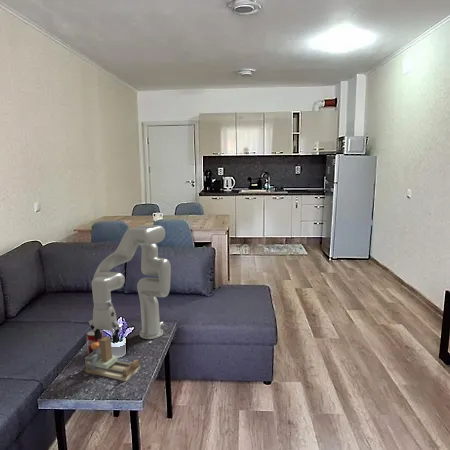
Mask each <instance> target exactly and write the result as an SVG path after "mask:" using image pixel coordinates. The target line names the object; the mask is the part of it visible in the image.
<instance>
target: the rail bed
mask: <svg viewBox="0 0 450 450" xmlns="http://www.w3.org/2000/svg"><path fill="white" fill-rule="evenodd" d="M100 359H101V352H100V347H99V348H98V354H93V352H92V353H90V354H89V355H88V354H87V355H86V356H84V364H85V369H84V371H85V373H86V374H91V375H97V376H101V377H106V378H110V379H114V380H118V381H119V380H120V381H124V382H126V381H128V380H129V379H130V378H131V377H133V376H134V375H135V374H136V373H137V372H139V370H140V369H141V365H140V364H141V363H140V359H135V360H133V361H132V362H131V363H130V362H124V361H119V360H118V361H117V362H115V363H114V364H113V365H112V366H110V367H109V368H108V369H104V368H100V367H96V362H97V361H99V360H100Z"/></svg>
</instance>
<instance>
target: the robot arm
mask: <svg viewBox="0 0 450 450" xmlns="http://www.w3.org/2000/svg"><path fill="white" fill-rule="evenodd" d="M165 237H166V229H165V228H164V227H163V226H162V225H155V224H154V225H153V224H139V225H136V226H134V227H130V228H127V229H126V231H125V232H124V234H123V236H122V238H121V239H120V242H119V244H118V245H117V248H116V249H115V251H114V252H112V253H110V254H109V255H108V256H107V257H105V258H104V259H103V260H101V262H100V263H99V265H98V266H97V267H96V270H95V273H94V274H93V278H92V280H91V291H92V301H93V311H92V319H91V320H89V321H88V324H89V326H90V328H91V330H93V332H94V334H95V340H98V339H99V338H101V334H100V330H101V331H110V333H111V334H112V335H111V342H112V344H116V343H117V342H118V341H119V334H118V333H119V332H121V329H122V327H123V326H122V324H120V322H118V319H117V313H116V309H115V308H114V303H112V296H111V294H112V293H111V292H112V291H115V290H119V289H121V288H122V287H123V286H124V284H125V281H126V278H125V275H123V274H122V273H121V272H117V271H116V272H115V271H111V270H112V269H113V268H115V267H117V266H120V265H122V264H125V263H128V262H130V261H131V260H133V258H134V256H135V253H136V251H137V249H138V247H139V246H140V247H141V262H140V270H141V273H142V274H143V275H145V276H152V277H143V278H140V279H139V280H138V282H137V285H136V288H137V289H136V290H137V293H138V297H139V302H140V303H139V305H140V316H141V318H140V321H141V331H140V332H139V337H140V338H142V339H144V340H153V339H158V338H160V337H161V336H163V334H164V330H163V329H162V326H164V321H160V309H159V307H160V304H159V301H158V298H166V297H168V295H169V294H170V290H171V275H172V271H171V270H172V267H171V262H170V260H168V259H167V258H164V257H163V258H162V257H159V255H158V254H159V248H158V245H157V244H158V243H161V242H163V241H164V239H165ZM153 276H154V277H153ZM156 277H158V278H156Z"/></svg>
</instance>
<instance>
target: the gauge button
mask: <svg viewBox="0 0 450 450" xmlns="http://www.w3.org/2000/svg"><path fill="white" fill-rule="evenodd" d="M98 348H99V343H98V342H94V343H92V344H91V349H93V354H98Z"/></svg>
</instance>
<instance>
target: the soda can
mask: <svg viewBox="0 0 450 450" xmlns="http://www.w3.org/2000/svg"><path fill="white" fill-rule="evenodd" d="M100 334H101V338H99V339H98V340H95V334H94V332H93V329H91V330H89V331H87V333H86V344H87V355H89V354H90V353H92V352H93V349H91V344H92V343H94V342H98V343H99V347H100V341H99V340H101V339H102V338H104V336H103V330H101V329H100Z"/></svg>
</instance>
